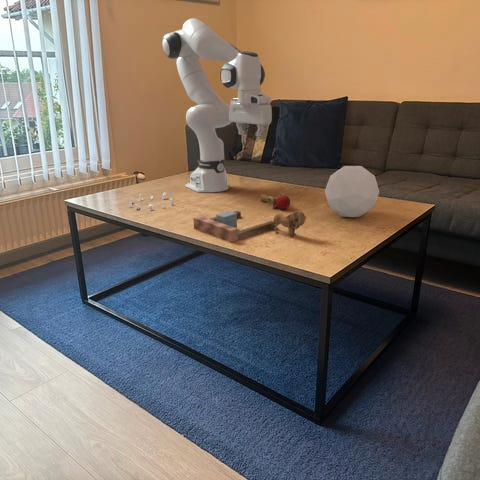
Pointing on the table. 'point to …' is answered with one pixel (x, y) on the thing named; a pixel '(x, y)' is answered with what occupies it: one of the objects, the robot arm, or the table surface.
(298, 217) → the lion figurine
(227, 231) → the stop channel
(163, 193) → the game piece set
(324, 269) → the table surface
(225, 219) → the block
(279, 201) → the kendama
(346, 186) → the geometric polyhedron
